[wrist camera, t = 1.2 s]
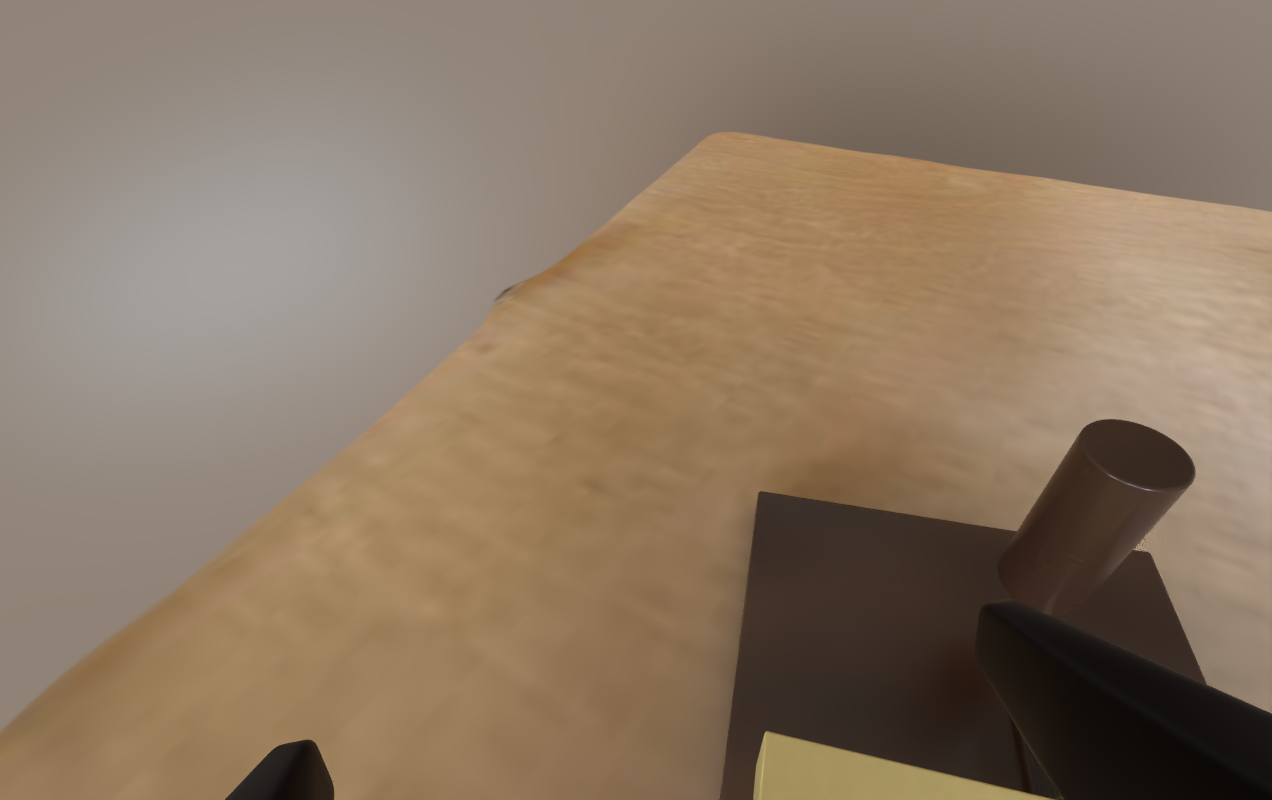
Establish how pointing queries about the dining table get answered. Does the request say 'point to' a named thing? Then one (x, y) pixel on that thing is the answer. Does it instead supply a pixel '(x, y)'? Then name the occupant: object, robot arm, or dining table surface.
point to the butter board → (900, 639)
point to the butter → (857, 776)
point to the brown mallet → (1091, 523)
